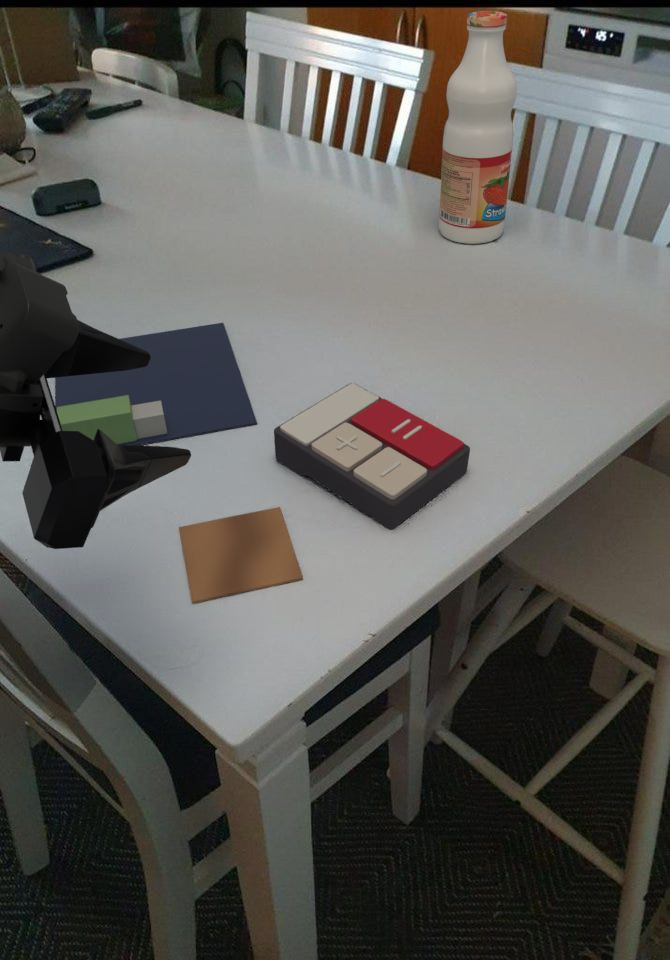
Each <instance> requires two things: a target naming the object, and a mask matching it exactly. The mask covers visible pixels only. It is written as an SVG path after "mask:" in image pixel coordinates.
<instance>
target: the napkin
mask: <svg viewBox="0 0 670 960" xmlns="http://www.w3.org/2000/svg"><path fill="white" fill-rule="evenodd" d="M227 332H228V331H227V329H226V326H225V323H224V322H217V323H212V324H205V325H199V326H192V327H186V328H180V329H173V330H172V329H171V330H167V331H161V332H160V331H159V332H154V333H148V334H141V335H135V336H128V337H122V338H119V339H120V340H123V341H125V342H127V343H129V344H132V345H134V346H136V347H139V348H141V349H143V350H146V351H148V352H149V353H150V355H151V359H150V361H149V364H148V365H147V366H146V367H143V368H137V369H132V370H126V371H118V372H108V373H97V374H87V375H77V376H67V377H57V378H54V398H55V400H54V404H55V407H56V410H57V407H61V406H67V405H73V404H78V403H84V402H90V401H96V400H102V399H108V398H114V397H120V396H126V395H129V398H130V403H131V406H132V405H137V404H143V403H149V402H155V401H161V403H162V407H163V412H164V417H165V422H166V428H167V434H163V435H158V436H152V437H147V438H141V439H137V441H133V442H128V443H122V444H119V445H141V446H146V445H150V444H156V443H161V442H167V441H171V440H172V441H173V440H177V439H178V440H179V439H183V438H184V439H185V438H188V437H189V438H190V437H194V436H199V435H205V434H210V433H215V432H223V431H226V430H233V429H238V428H243V427H250V426H254V425H258V421H257V419H256V415H255V412H254V409H253V406H252V403H251V401H250V397H249V395H248V391H247V389H246V386H245V383H244V380H243V376H242V374H241V370H240V367H239V365H238V362H237V359H236V356H235V353H234V350H233V347H232V344H231V342H230V338H229V335H228V333H227Z"/></svg>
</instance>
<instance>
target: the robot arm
mask: <svg viewBox="0 0 670 960" xmlns="http://www.w3.org/2000/svg"><path fill="white" fill-rule="evenodd" d="M68 294H69V293H68V289H67V287H66V286H65V285H64V284H63V283H61V282H58V281H56V280H54V279H52V278H50V277H47V276H45V275H44V274H41V273H40V272H39V271H37V269H36V266H35V263H34V260H33V258H32V256H31V255H30V254H28V253H19V254H17V255H15V254H13V253H12V252H8V251H2V250H0V457H1V460H2V462H21V459H22V456H23V452H24V449H25V447H31V452H32V454H33V458H32V461H31V464H30V468H29V471H28V474H27V478H26V480H25V483H24V487H23V489H22V497H23V501H24V506H25V509H26V514H27V517H28V521H29V525H30V528H31V532H32V536H33V539H34V540H35V541H37V542H38V543H39V544H41V545H43V546H44V547H45V548H47V549H53V550H62V549H76V548H77V549H79V548H84V547H85V544H86V542H87V539H88V537H89V534H90V532H91V530H92V529H93V528H94V526H95V524H96V522H97V519H98V517H99V514H100V512H101V511H103V510H104V509H107V507H109V506H111V505H112V504H114V503H116V502H117V501H119V500H120V499H121V498H124V497H125V496H127V495H128V494H130V493H132V492H134V491H136V490H138V489H140V488H142V487H144V486H147V485H148V484H151V483H152V482H154V481H156V480H158V479H160V478H163V477H164V476H166V475H169V474H171V473H172V472H175V471H176V470H179V469H180V468H183V467H184V466H186V465H187V464H188V463H189V462H190V459H191V456H192V452H191V451H190V449H187V448H181V447H175V446H165V445H164V446H162V445H119V444H116V443H115V442H114V441H113V440H111V439H110V438H109V437H108V436H107V435H106V434H105V433H104V432H103V431H102V430H100V429H97V431H96V434H95V437H94V439H93V440H92V439H90V438H89V437H87V436H86V435H84V434H82V433H81V432H79V431H63V430H62V427H61V423H60V420H59V417H58V414H57V410H56V407H55V400H54V397H53V395H52V394H53V393H52V392H51V391H52V390H51V388H50V384H49V382H48V379H55V378H57V377H67V376H77V375H87V374H97V373H108V372H118V371H126V370H132V369H137V368H143V367H146V366H147V365H148V364H149V361H150V359H151V355H150V353H149V352H148V351H146V350H143V349H141V348H139V347H136V346H134V345H132V344H129V343H127V342H125V341H123V340H120V339H121V338H118V337H116V336H113V335H111V334H109V333H106V332H104V331H102V330H99V329H98V328H95V327H93V326H91V325H89V324H87V323H85V322H83V321H81V320H79V319H78V318H77V316H76V315H75V314H74V313H73V311H72V308H71V305H70V303H69V300H68V298H67V296H68Z"/></svg>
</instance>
